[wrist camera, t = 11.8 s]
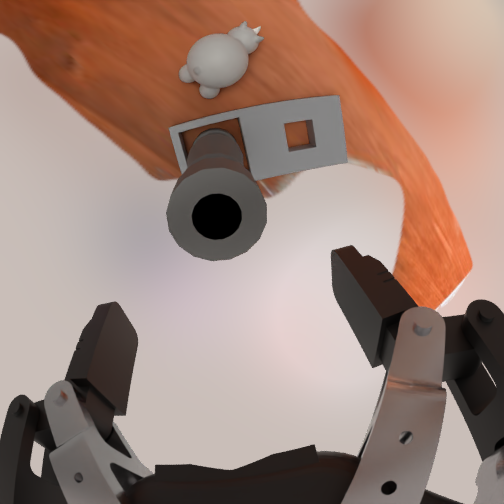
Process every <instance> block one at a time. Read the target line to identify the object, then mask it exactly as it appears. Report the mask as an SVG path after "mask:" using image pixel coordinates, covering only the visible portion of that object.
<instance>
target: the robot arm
mask: <svg viewBox="0 0 504 504" xmlns="http://www.w3.org/2000/svg"><path fill="white" fill-rule="evenodd" d="M331 267H332V287H333V292H334V295H335V298H336V300H337V303H338V304H339V306H340V308H341V309H342V312H343V313H344V315H345V317H346V319H347V321H348V322H349V324H350V326H351V328H352V330H353V332H354V334H355V336H356V337H357V339H358V341H359V343H360V345H361V347H362V349H363V351H364V352H365V355H366V356H367V358H368V360H369V362H370V364H371V366H372V368H374V367H377V366H379V365H382V364H383V366H384V368H385V370H386V374H385V377H384V381H383V384H382V388H381V391H380V395H379V398H378V401H377V405H376V408H375V411H374V414H373V417H372V420H371V423H370V425H369V428H368V430H367V433H366V435H365V438H364V441H363V443H362V446H361V448H360V451H359V453H358V455H357V457H356V456H354V455H349V454H346V453H340V452H329V451H320V452H316V448H315V445H310V446H306V447H302V448H298V449H295V450H290V451H286V452H281V453H276V454H273V455H270V456H268V457H265V458H263V459H260V460H258V461H256V462H253V463H251V464H248V465H246V466H243V467H240V468H237V469H234V470H223V469H215V468H209V467H203V466H197V465H192V464H186V465H155V474H153V473H152V472H151V471H150V470H149V469H148V468H147V467H145V466H144V465H143V464H142V463H141V462H140V461H139V459H138V458H137V456H136V455H135V453H134V452H133V450H132V449H131V447H130V446H129V444H128V443H127V441H126V440H125V438H124V436H123V435H122V433H121V431H120V430H119V428H118V426H117V425H116V424H115V423H114V422H113V418H114V416H116V415H117V416H119V415H121V416H123V415H126V409H127V402H128V396H129V390H130V384H131V378H132V373H133V367H134V362H135V357H136V352H137V347H138V337H137V333H136V331H135V329H134V327H133V326H132V324H131V323H130V321H129V319H128V318H127V316H126V315H125V313H124V311H123V310H122V308H121V306H120V305H119V304H118V303H117V302H110V303H106V304H101V305H98V306H97V308H96V310H95V312H94V315H93V317H92V319H91V320H90V321H89V323H88V324H87V325H86V326H85V328H84V329H83V331H82V333H81V336H80V338H79V342H78V344H77V346H76V351H74V354H73V357H72V360H71V362H70V365H69V368H68V372H67V374H66V377H65V380H63V381H58V382H56V383H55V384H53V385H52V386H51V387H50V388H49V390H48V391H47V393H46V395H45V399H44V400H41V401H38V402H36V403H33V402H32V401H31V400H30V399H29V398H28V397H27V396H25V395H19V396H17V397H16V398H14V400H13V401H12V402H11V404H10V406H9V408H8V411H7V415H6V419H5V422H4V427H3V430H2V434H1V439H0V504H463V503H460V502H457V501H454V500H451V499H449V498H446V497H443V496H441V495H438V494H436V493H433V492H431V491H428V490H426V489H425V488H426V485H427V482H428V479H429V476H430V473H431V469H432V465H433V462H434V459H435V455H436V451H437V446H438V442H439V438H440V433H441V428H442V423H443V418H444V412H445V405H446V396H447V394H446V389H445V388H442V382H444V381H446V383H447V385H448V387H449V389H450V390H451V392H452V394H453V396H454V398H455V400H456V402H457V404H458V406H459V408H460V411H461V412H462V414H463V417H464V419H465V421H466V423H467V425H468V428H469V430H470V432H471V434H472V437H473V439H474V441H475V444H476V446H477V449H478V451H479V454H480V456H481V459H482V461H483V462H482V464H481V466H480V468H479V470H478V474H477V477H476V485H477V486H478V494H477V497H476V500H475V502H474V504H504V314H503V312H502V311H501V310H500V309H499V308H498V307H497V306H496V305H495V304H494V303H492V302H490V301H487V300H475V301H473V302H471V303H470V304H469V306H468V308H467V310H466V313H465V314H464V315H457V316H450V317H442V316H441V315H440V314H439V313H438V312H436V311H435V310H433V309H431V308H427V307H419V306H418V305H417V304H416V303H415V302H414V300H413V299H412V298H411V297H410V295H409V294H408V293H407V292H406V291H405V289H404V288H403V287H402V286H401V285H400V283H399V282H398V281H397V280H396V279H394V276H393V275H392V274H391V273H390V272H388V270H387V269H386V267H385V266H384V265H383V264H382V263H381V262H380V261H379V260H377V259H375V258H373V257H371V256H369V255H367V256H364V257H362V255H361V254H360V253H359V252H358V251H357V250H356V248H355V247H354V246H352V245H350V246H346V247H343V248H339V249H335V250H332V252H331ZM482 362H483V364H484V365H485V367H486V368H487V370H488V372H489V373H490V375H491V377H492V378H493V380H494V382H495V384H496V386H495V385H494V383H493V381H492V379H491V378H490V376H489V374H488V373H487V371H486V369H485V368H484V366H483V365H482ZM34 441H35V442H37V443H38V444H40V445H41V446H43V447H44V448H45V452H44V458H43V466H42V475H41V478H40V477H38V476H37V475H35V474H34V473H33V471H32V470H31V467H30V460H31V453H32V447H33V442H34Z"/></svg>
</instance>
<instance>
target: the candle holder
mask: <svg viewBox="0 0 504 504" xmlns="http://www.w3.org/2000/svg"><path fill="white" fill-rule="evenodd" d="M187 166H188V168H187V169H186V171H185V172H184V173H183V174H182V175H181V176H180V178H179V179H178V181H177V183H176V185H175V187H174V190H173V192H172V194H171V197H170V201H169V204H168V208H167V212H166V214H167V221H168V227H169V231H170V233H171V234H172V236H173V238H174V239H175V241H176V242H177V244H178V245H179V246H180V247H181V248H183V249H184V250H185V251H187V252H188V253H190V254H191V255H193V256H194V257H198V258H202V259H206V260H210V261H217V260H229V259H232V258H234V257H236V256H239V255H241V254H243V253H245V252H247V251H248V250H249V249H250V248H251V247H252V246H253V245H254V244H255V243H256V242H257V241H258V240H259V239H260V237H261V234H262V232H263V230H264V228H265V225H266V223H267V207H266V206H267V205H266V202H265V200H264V198H263V195H262V193H261V191H260V189H259V187H258V185H257V183H256V181H255V179H254V177H253V176H252V174H251V173H250V172H249V171H248V170H247V169H246V168H245V167H244V165H243V154H242V152H241V150H240V148H239V145H238V144H237V143H236V140H235V138H234V137H233V136H232V135H231V134H230V133H229V132H228V131H227V130H224V129H220V128H210V129H207V130H205V131H203V132H202V133H201V134H200V135H199V136H198V137H197V138H196V140H195V141H194V144H193V146H192V148H191V149H190V152H189V155H188V158H187Z"/></svg>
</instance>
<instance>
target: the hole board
mask: <svg viewBox="0 0 504 504" xmlns="http://www.w3.org/2000/svg"><path fill="white" fill-rule="evenodd" d="M233 118H238V122H239V126H240V131H241V135H242V140H243V144H244V149H245V153H246V158H247V162H248V167H249V170H248V171H249V172H250V173H251V174H252V176H253V177H254V179H255V181H257V180H261V179H266V178H270V177H275V176H279V175H284V174H289V173H294V172H299V171H304V170H309V169H314V168H319V167H325V166H331V165H337V164H343V163H348V161H347V151H346V142H345V133H344V125H343V118H342V111H341V104H340V98H339V95H329V96H318V97H309V98H301V99H293V100H286V101H280V102H273V103H267V104H262V105H256V106H251V107H246V108H241V109H236V110H232V111H227V112H223V113H219V114H215V115H211V116H207V117H203V118H199V119H196V120H192V121H188V122H185V123H181V124H178V125H175V126H172V127H170V128H169V131H170V135H171V138H172V142H173V146H174V149H175V153H176V156H177V160H178V163H179V166H180V170H181V173H182V174H183V173H184V172H185V171H186V169H187V168H188V166H187V158H188V156H187V152H186V149H185V145H184V141H183V138H182V134H181V132H183V131H186V130H190V129H193V128H197V127H200V126H204V125H208V124H212V123H216V122H220V121H224V120H229V119H233ZM303 120H306V125H307V131H308V137H309V143H310V144H306V145H301V146H295V147H290V148H288V145H287V139H286V133H285V128H284V123H290V122H297V121H303Z"/></svg>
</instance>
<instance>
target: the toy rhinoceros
mask: <svg viewBox="0 0 504 504" xmlns="http://www.w3.org/2000/svg"><path fill="white" fill-rule="evenodd" d="M260 28H261V26H260V27H257V28H254V29H251V28H249V27H247V22H246V21H244V22H243V23H242V24H241V25H240V26H239V27H235V28H233V29H232V30H230V31H229V32H228V34H211V35H207V36H205V37H203V38H201V39H200V40H198V41H197V42H196V43H195V44H194V45H193V46H192V47H191V49H190V51H189V53H188V56H187V64H185V65H184V66H183V67H182V68H181V69H180V71H179V78H180V80H181V81H183V82H185V83H191V82H194V81H196V82H198V83H199V84H201V85H200V88H199V91H200V94H201V95H202V97H204V98H207V99H210V98H214V97H216V96H217V95H218V93H219V91H220V88H223V87H227V86H230V85H232V84H234V83H235V82H237V81H238V80H239V79H240V78H241V77H242V76H243V75H244V73H245V71H246V69H247V66H248V54H250V53H252V52H253V51H255V50H256V48H257V47H258V44H259V42H261V41H262V40H263V39H264V37H260V36H258V35H257V34H258V32H259V31H260Z"/></svg>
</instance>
